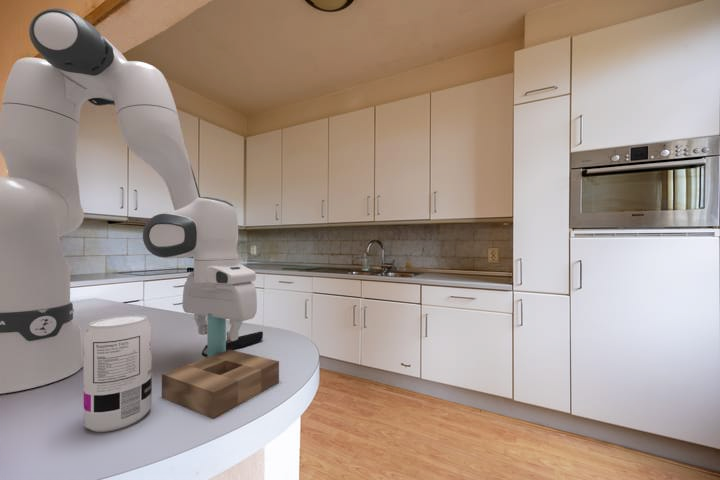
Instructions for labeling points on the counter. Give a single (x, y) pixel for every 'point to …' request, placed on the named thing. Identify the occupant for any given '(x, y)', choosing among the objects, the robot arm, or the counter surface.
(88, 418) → the supplement can
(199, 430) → the counter surface
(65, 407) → the counter surface
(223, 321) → the peg
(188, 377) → the socket block
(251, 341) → the electric trimmer
